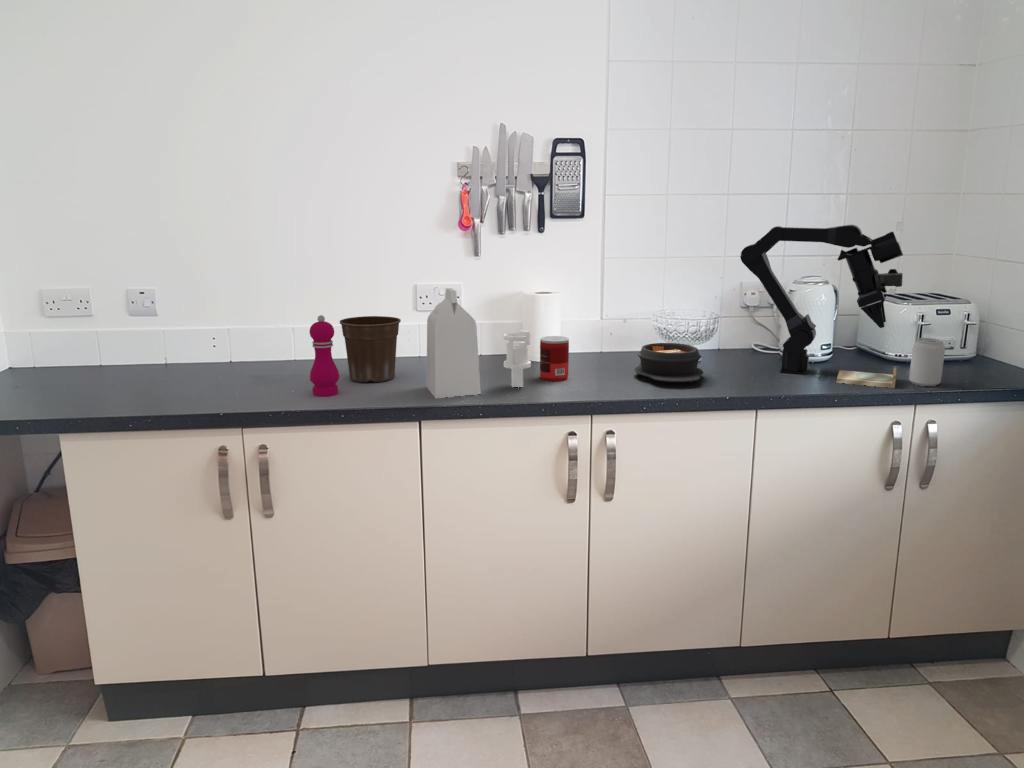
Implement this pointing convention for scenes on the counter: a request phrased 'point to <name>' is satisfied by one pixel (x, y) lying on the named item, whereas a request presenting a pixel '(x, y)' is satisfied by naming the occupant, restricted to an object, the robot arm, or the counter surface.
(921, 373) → the can
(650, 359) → the casserole
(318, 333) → the pepper mill
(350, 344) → the plant pot
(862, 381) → the rack board
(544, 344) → the canned food
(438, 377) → the milk
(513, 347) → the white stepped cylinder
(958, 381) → the counter surface
